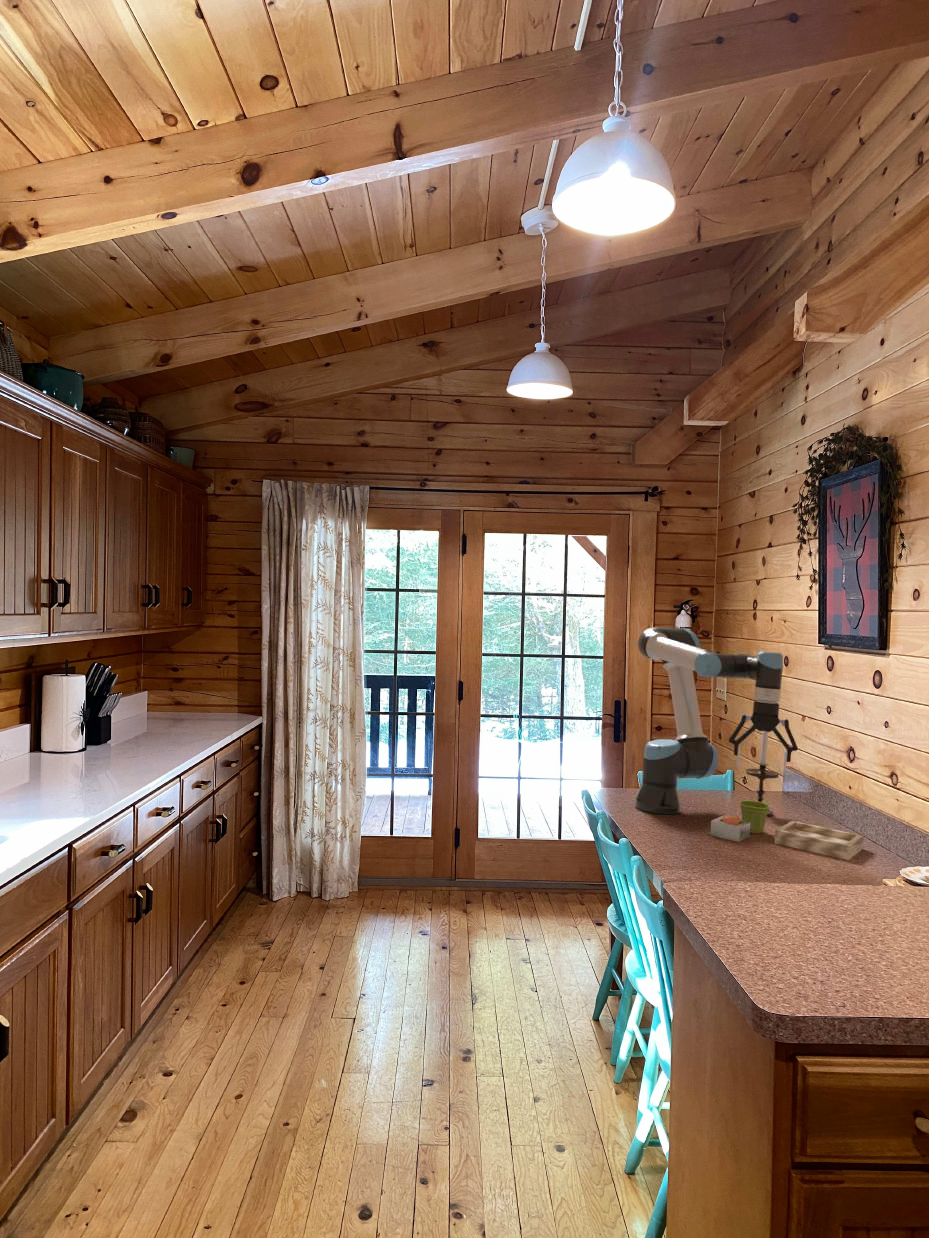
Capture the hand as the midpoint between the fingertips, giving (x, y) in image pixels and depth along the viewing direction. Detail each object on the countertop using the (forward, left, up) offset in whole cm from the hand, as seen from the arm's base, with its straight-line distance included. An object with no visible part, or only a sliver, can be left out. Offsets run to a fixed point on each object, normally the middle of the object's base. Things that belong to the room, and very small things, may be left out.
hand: (760, 769), depth 261 cm
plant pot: (-2, +4, -21) cm, 21 cm away
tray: (+18, +4, -21) cm, 28 cm away
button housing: (-5, -8, -21) cm, 23 cm away
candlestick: (-9, +31, -21) cm, 39 cm away
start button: (-5, -8, -18) cm, 20 cm away
